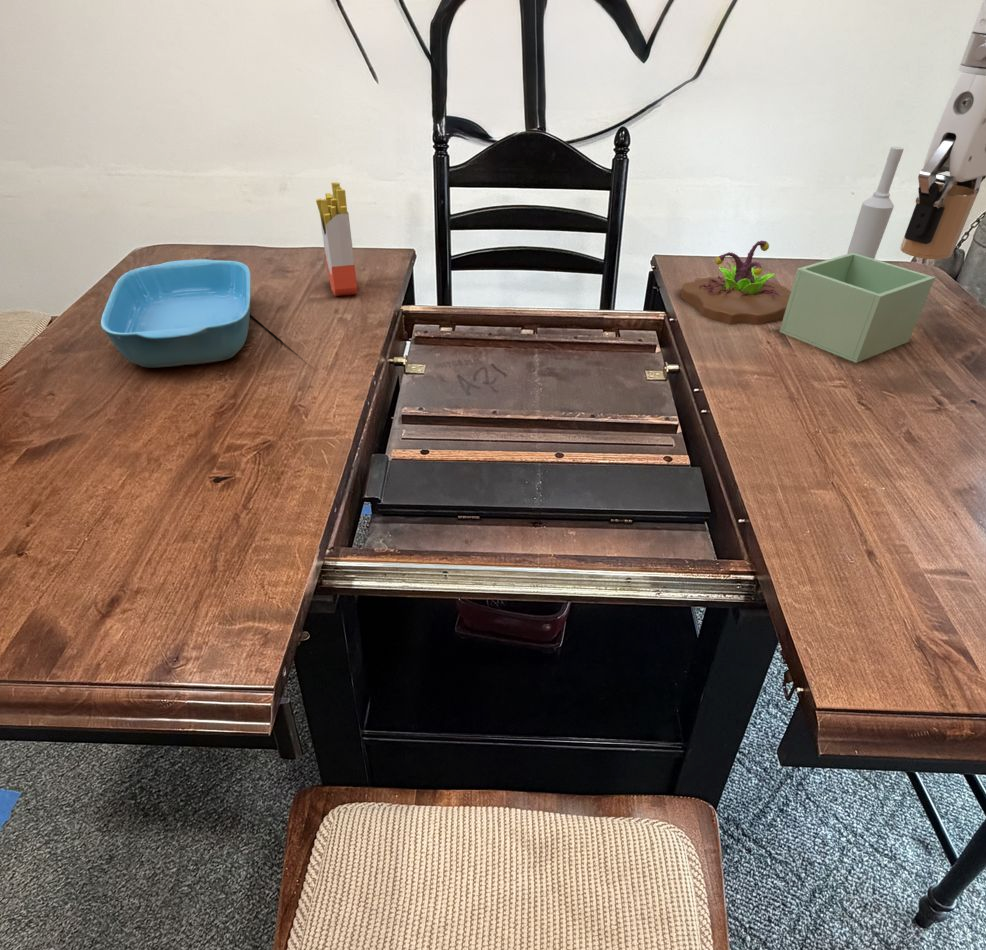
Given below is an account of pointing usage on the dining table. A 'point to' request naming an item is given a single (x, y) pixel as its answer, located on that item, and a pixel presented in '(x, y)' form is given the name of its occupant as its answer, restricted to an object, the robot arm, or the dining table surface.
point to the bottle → (875, 211)
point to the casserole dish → (180, 312)
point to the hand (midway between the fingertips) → (932, 234)
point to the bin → (855, 305)
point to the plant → (738, 293)
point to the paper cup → (945, 226)
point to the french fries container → (338, 241)
